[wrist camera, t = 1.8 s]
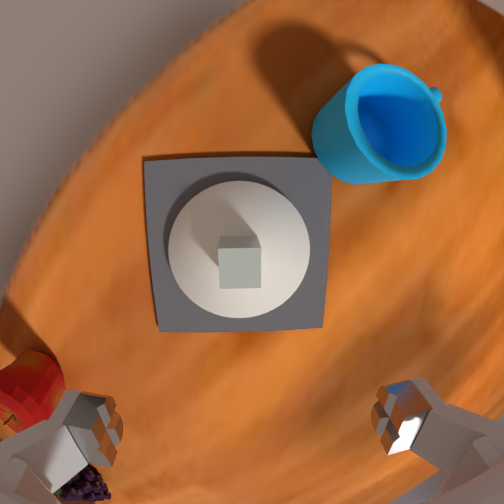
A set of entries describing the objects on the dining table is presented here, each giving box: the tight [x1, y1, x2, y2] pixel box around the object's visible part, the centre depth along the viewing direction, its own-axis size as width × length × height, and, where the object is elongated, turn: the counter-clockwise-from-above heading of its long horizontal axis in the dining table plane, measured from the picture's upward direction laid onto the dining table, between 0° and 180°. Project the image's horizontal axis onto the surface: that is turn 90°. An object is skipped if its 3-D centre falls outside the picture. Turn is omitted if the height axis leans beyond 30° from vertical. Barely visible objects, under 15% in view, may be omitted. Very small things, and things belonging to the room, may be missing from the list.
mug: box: [311, 63, 447, 185], centre depth 20 cm, size 12×8×8 cm
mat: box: [144, 157, 331, 332], centre depth 26 cm, size 16×16×1 cm
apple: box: [0, 350, 65, 433], centre depth 24 cm, size 9×8×12 cm
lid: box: [168, 181, 310, 318], centre depth 24 cm, size 12×12×5 cm
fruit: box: [53, 466, 111, 503], centre depth 31 cm, size 10×11×15 cm
